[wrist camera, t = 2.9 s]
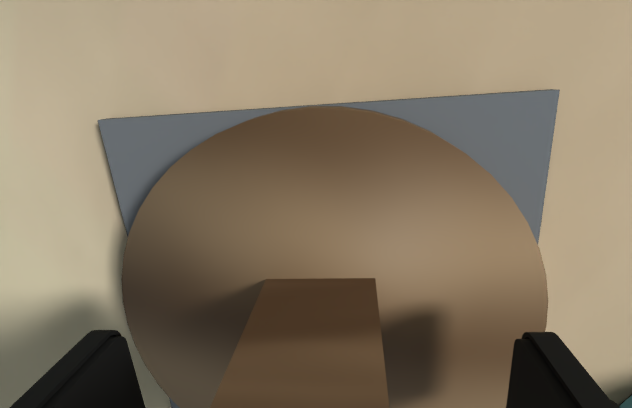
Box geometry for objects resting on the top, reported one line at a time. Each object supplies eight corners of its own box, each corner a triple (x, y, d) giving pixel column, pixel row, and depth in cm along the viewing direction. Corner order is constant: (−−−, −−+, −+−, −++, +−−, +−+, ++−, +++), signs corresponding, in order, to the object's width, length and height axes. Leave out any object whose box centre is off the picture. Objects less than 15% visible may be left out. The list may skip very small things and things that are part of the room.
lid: (97, 119, 10) (-229, 171, 4) (559, 90, 9) (940, 111, 3) (179, 437, 14) (61, 682, 8) (508, 452, 13) (634, 757, 7)
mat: (107, 118, 10) (98, 119, 10) (550, 89, 9) (559, 90, 9) (184, 428, 14) (179, 438, 14) (504, 441, 13) (508, 452, 13)
